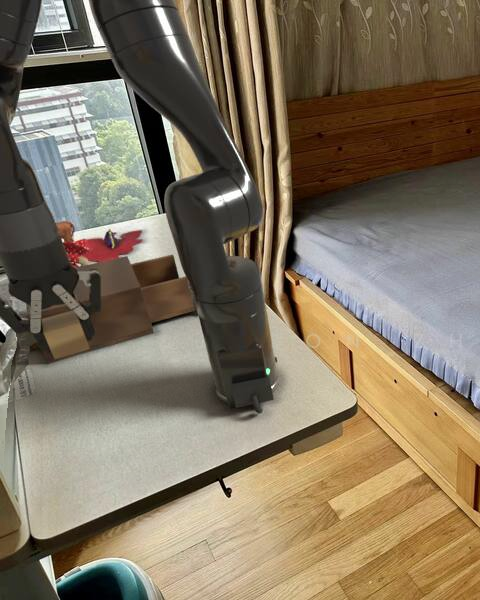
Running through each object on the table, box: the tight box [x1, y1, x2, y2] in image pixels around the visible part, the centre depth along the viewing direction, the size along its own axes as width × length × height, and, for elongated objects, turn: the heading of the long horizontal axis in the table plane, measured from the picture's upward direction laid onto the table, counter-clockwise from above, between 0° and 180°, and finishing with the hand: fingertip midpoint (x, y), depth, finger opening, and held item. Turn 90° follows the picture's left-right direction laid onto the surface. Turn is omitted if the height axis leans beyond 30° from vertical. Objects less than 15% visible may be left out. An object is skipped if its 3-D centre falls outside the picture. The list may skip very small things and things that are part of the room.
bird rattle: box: [62, 238, 92, 268], centre depth 110 cm, size 6×11×9 cm
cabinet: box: [25, 255, 155, 364], centre depth 97 cm, size 17×15×9 cm
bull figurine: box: [55, 220, 76, 242], centre depth 126 cm, size 4×13×8 cm, turn 107°
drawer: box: [131, 254, 196, 324], centre depth 103 cm, size 22×14×8 cm, turn 122°
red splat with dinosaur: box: [82, 228, 143, 263], centre depth 129 cm, size 18×15×5 cm
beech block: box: [42, 311, 90, 359], centre depth 80 cm, size 5×5×5 cm
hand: (69, 343), depth 80 cm, fingers closed on beech block, 4 cm apart
